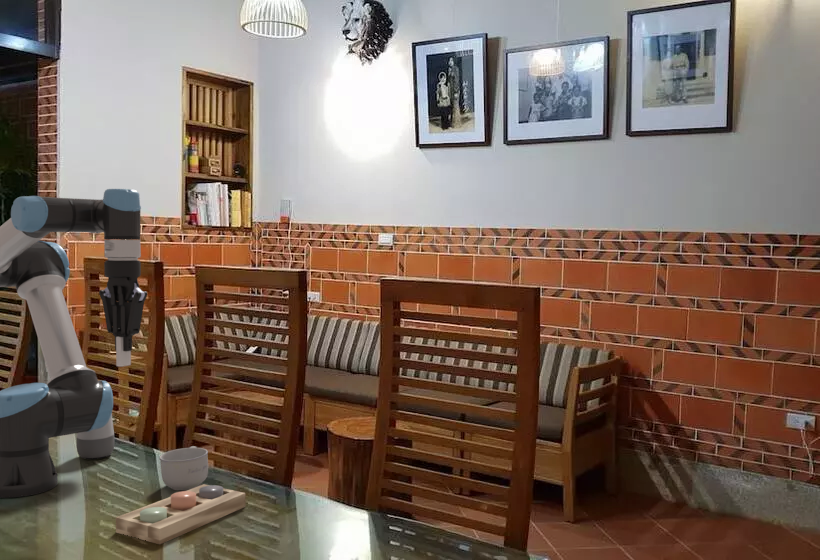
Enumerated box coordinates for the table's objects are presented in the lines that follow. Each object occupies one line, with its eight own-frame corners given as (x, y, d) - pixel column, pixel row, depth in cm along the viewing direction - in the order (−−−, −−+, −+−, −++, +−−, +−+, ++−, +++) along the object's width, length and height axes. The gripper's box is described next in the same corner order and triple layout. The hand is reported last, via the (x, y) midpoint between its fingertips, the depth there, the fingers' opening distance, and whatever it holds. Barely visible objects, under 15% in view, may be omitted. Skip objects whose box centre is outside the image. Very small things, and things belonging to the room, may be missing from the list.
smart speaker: (97, 463, 197) (97, 409, 197) (68, 459, 200) (67, 406, 200) (122, 453, 206) (121, 402, 206) (93, 450, 209) (93, 399, 209)
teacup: (194, 495, 173) (194, 460, 172) (150, 492, 175) (150, 457, 174) (221, 477, 186) (221, 444, 186) (180, 474, 188) (180, 442, 188)
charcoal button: (194, 504, 164) (194, 490, 164) (210, 497, 168) (210, 484, 168) (211, 508, 162) (211, 494, 161) (228, 501, 166) (228, 487, 166)
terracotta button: (165, 510, 157) (165, 496, 157) (183, 503, 161) (183, 489, 161) (183, 515, 154) (183, 500, 154) (201, 507, 159) (201, 493, 159)
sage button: (134, 528, 150) (134, 513, 150) (154, 520, 154) (154, 505, 154) (152, 533, 148) (152, 517, 147) (172, 524, 152) (172, 509, 152)
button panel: (115, 532, 150) (115, 517, 150) (203, 497, 171) (203, 484, 171) (159, 544, 145) (159, 528, 144) (245, 506, 166) (245, 493, 165)
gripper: (88, 259, 169) (89, 365, 171) (129, 260, 163) (130, 370, 164) (116, 258, 176) (117, 361, 177) (156, 259, 170) (157, 365, 171)
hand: (123, 365), depth 171 cm, fingers closed
